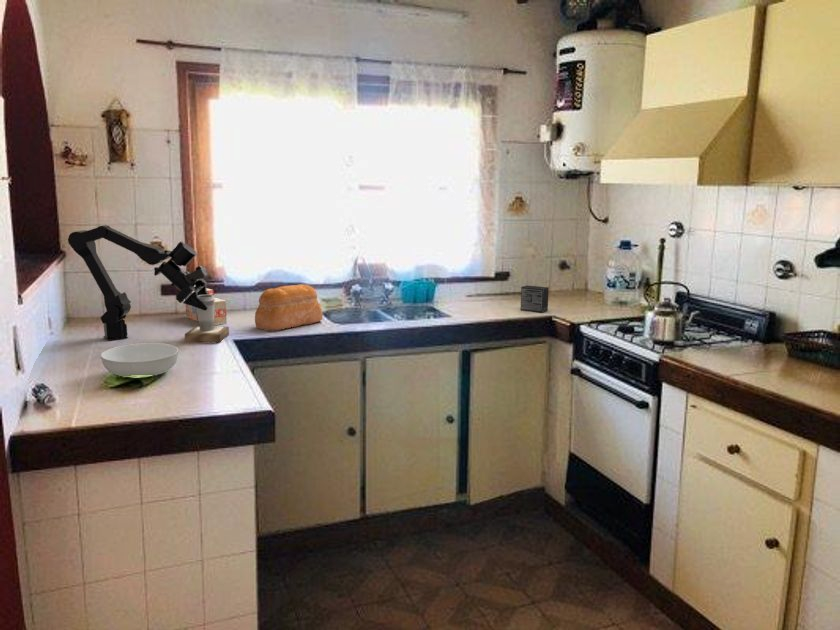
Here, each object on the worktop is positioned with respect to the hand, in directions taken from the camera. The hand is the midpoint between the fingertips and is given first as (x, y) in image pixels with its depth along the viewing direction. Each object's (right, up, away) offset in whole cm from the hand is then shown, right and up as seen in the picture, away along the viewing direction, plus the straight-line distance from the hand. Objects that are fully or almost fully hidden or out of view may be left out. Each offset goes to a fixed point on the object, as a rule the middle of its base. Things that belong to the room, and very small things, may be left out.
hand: (210, 307), depth 243 cm
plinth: (-1, -11, +2) cm, 11 cm away
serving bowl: (-7, -20, -41) cm, 46 cm away
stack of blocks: (-11, -5, +32) cm, 34 cm away
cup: (-2, -8, +2) cm, 8 cm away
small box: (+123, -1, +59) cm, 136 cm away
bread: (+23, -7, +26) cm, 35 cm away
